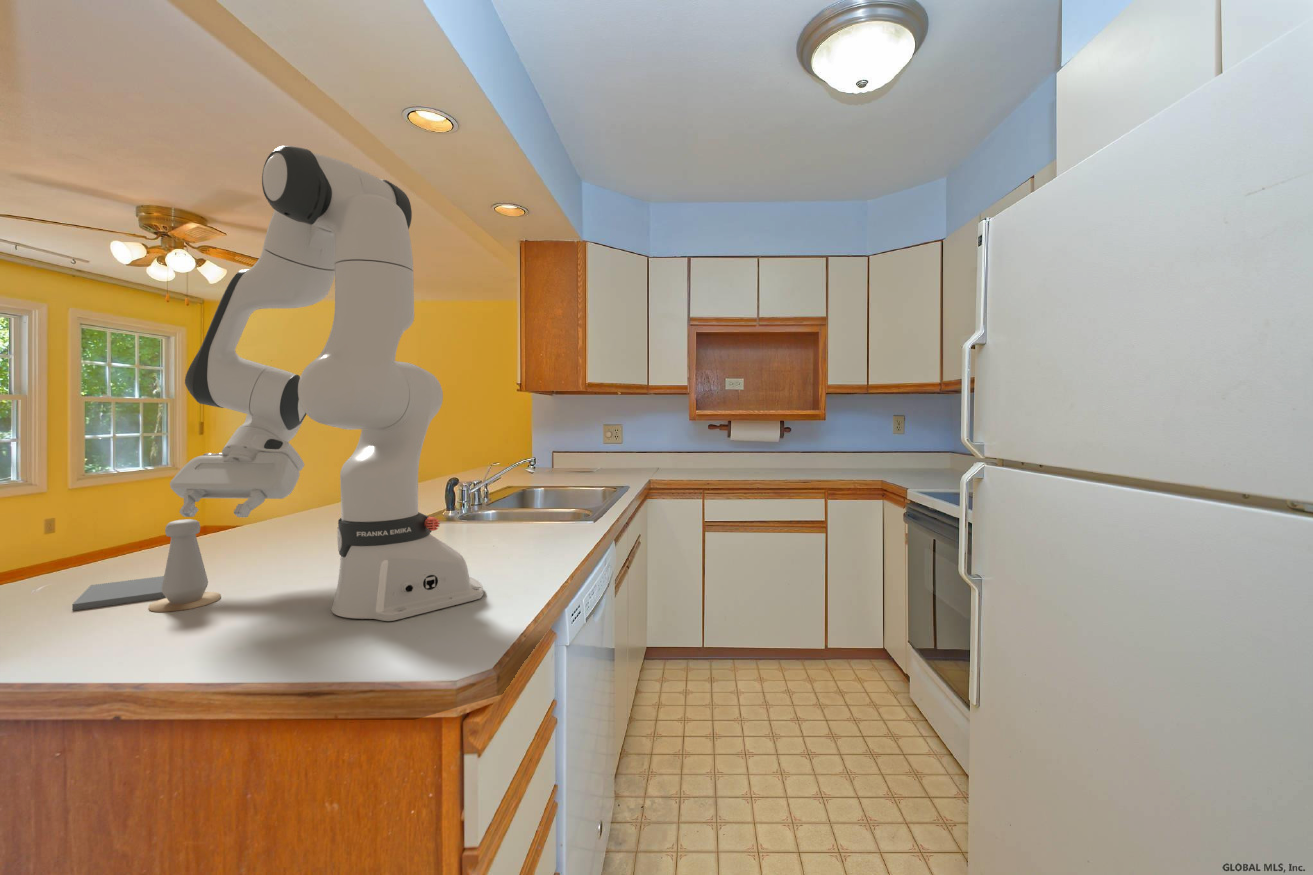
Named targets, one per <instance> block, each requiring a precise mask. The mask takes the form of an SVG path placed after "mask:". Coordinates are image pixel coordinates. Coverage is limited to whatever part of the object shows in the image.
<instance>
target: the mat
mask: <svg viewBox="0 0 1313 875" xmlns="http://www.w3.org/2000/svg"><path fill="white" fill-rule="evenodd" d="M163 579H164V575H160V576H155V577H147V578H146V577H145V578H138V579H137V578H136V579H130V580H129V579H128V580H122V581H121V580H120V581H111V582H107V583H105V582H104V583H98V584H97V583H96V584H90V586H88V588H86V590H85V591H84V592H83V593H81V595H80V596H79V597H78V598H77V599H76V600H75V601H74V602H73V603H72V607H71V608H72V611H80V610H87V609H88V610H89V609H95V608H100V607H107V606H109V607H110V606H116V605H122V604H129V603H137V602H138V603H139V602H144V601H151V600H157V599H159V600H160V599H164V598H166V597H165V596H164V594H163V593H162V590H161V588H162V584H163Z"/></svg>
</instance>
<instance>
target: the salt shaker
mask: <svg viewBox="0 0 1313 875" xmlns="http://www.w3.org/2000/svg"><path fill="white" fill-rule="evenodd" d="M200 531H201V524H200V521H198V520H196V519H192V518H191V519H190V518H187V519H185V518H184V519H178V520H176V519H175V520H173V521H172V520H171V521H170V522H168V523H167V524H166V525H165V536H166V537H169V538H170V543H169V550H168V555H167V559H166V565H165V568H164V569H165V570H164V575H163V576H164V579H163V584H162V588H161V590H162V593H163V594H164V596H165V597H166V598H167V599H168V601H169V602H170V604H186V603H190V602H195V601H198V600H199V599H201V598H202V597H203V594H204V592H206V590H207V588H208V585H209V580H208V579H209V578H208V575H207V572H206V569H205V568H206V567H205V565H204V562H203V558H202V554H201V549H200V546H199V542H198V539H197V535H198V534H199V533H200Z"/></svg>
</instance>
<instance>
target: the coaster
mask: <svg viewBox="0 0 1313 875" xmlns="http://www.w3.org/2000/svg"><path fill="white" fill-rule="evenodd" d="M221 598H222V595H221V593H219V592H216V591H205V592H204V594H203V597H202V598H201V599H199V600H198V601H195V602H190V603H186V604H170V602H169V601H168V599H167V598H160V599H159V600H155V601H154V602H151V603H150V604H149V605H148V610H149V611H150V612H155V613H156V612H157V613H168V612H169V613H172V612H180V611H185V610H191V609H192V610H193V609H197V608H201V607H205V606H209V605H210V604H213V603H215V602H218V601H219V600H220V599H221Z"/></svg>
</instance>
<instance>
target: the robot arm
mask: <svg viewBox="0 0 1313 875" xmlns="http://www.w3.org/2000/svg"><path fill="white" fill-rule="evenodd" d="M261 185H262V186H261V187H262V191H263V192H262V193H263V195H264V197H265V199H266V200H267V202H268V203H269V205H270V206H271V208H272V209H273V210H274V211H273V214H272V216H271V218H270V220H269V224H268V227H267V231H266V233H265V237H264V241H263V247H262V250H261V253H260V256H259V258H258V259H257V261H256V262H255V264H254V265H252V267H250V268H249V269H248V268H247V269H240V270H239V271H238V272H236V274H234V276H233V277H232V279H230V281H229V283H228V284H227V287H226V288H225V291H224V292H223V294H222V297H221V298H220V301H219V303H218V306H217V308H216V310H215V312H214V314H213V318H212V320H211V322H210V323H209V324H210V325H209V327H208V329H207V332H206V335H205V336H204V338H203V341H202V342H201V345H200V348H199V350H198V351H197V353H196V355H195V356H194V358H193V360H192V362H190V365H189V368H188V370H187V372H186V374H185V377H184V378H185V379H184V384H185V387H186V389H187V391H188V393H189V394H190V395H191V397H192V398H193V399H194V400H195V401H196V402H197V403H198V404H201V405H205V406H210V407H211V406H212V407H215V408H221V409H227V410H231V411H235V412H237V413H241V414H242V413H243V414H245V415H246V416H245V421H244V422H243V423H242V424H241V425H240V426H238V427H237V428H236V430H235V431H234V432H233V434H232V435H231V437H230V438H229V439H228V441H227V442H226V443H225V445H224V447H223V448H222V450H221V452H218V453H213V452H206V453H203V455H199V456H195V457H194V458H192V459H191V460H189V461H188V462H187V463H186V464H184V466H183V467H182V468H181V469H180V470H178V472H177V473H176V474H175V475H174V477H173V478H172V479H171V480H170V481H169V486H170V489H171V490H172V491H173V493H175V494H176V495H177V496H178V497H180V498H181V499H183V505H182V506H181V507H180V509H179V514H180V515H181V516H182V517H184V518H193V517H195V516H196V514H197V512H199V508H198V507H196V503H199V502H200V500H201V499H247V500H245V501H244V502H243V503H238V504H237V505H236V507H235V509H234V510H233V514H234V515H235V516H236V517H237V518H248V517H249V516H250V514H251V512H252V511H253V510H255V509H256V508H257V507H259V506H261V505H262V504H263V503H264V502H265V501H266V499H267V500H268V499H273V500H275V499H277V500H278V499H279V500H281V499H285V498H287V497H288V496H290V494H291V493H292V492H293V490H294V489H295V487H296V485H297V483H298V481H299V479H300V476H301V472H300V471H302V470H303V468H304V467H305V463H304V461H303V459H302V458H301V456H300V455H299V453H298V452H297V450H296V449H295V448H294V447H293V445H292V444H291V443H290V441H292V440H293V439H294V438H295V437H296V434H298V431H299V430H300V429H301V426H302V424H303V422H304V420H305V417H306V416H308V417H309V419H312V421H315V422H316V423H318V424H321V425H322V424H323V425H326V426H329V427H332V428H339V429H343V430H349V431H350V430H361V433H360V436H359V439H358V443H357V446H356V447H355V450H354V451H353V453H352V454H351V455H350V457H349V458H347V459H346V461H345V462H344V463H343V464H342V467H341V469H340V473H339V474H340V479H339V480H340V518H339V519H338V522H337V525H338V527H337V530H336V532H337V551H338V553H339V555H340V560H339V563H340V564H339V571H338V572H339V574H338V579H337V586H336V592H335V596H334V599H333V603H332V606H331V612H332V613H333V614H334V615H335V616H339V617H342V618H346V619H347V618H348V619H365V620H366V619H371V620H372V619H374V620H379V621H384V622H391V621H392V622H393V621H397V620H402V619H405V618H409V617H413V616H417V615H421V614H426V613H429V612H434V611H437V610H440V609H446V608H448V607H453V606H455V605H456V606H457V605H460V604H465V603H469V602H472V601H476V600H480V599H481V598H482V597H483V596H484V587H483V585H482V583H481V582H479V580H477V579H475V578H474V577H471V576H470V573H469V569H468V565H467V563H466V560H465V557H464V556H463V555H462V554H461V553H460V552H459V551H457V550H456V549H454V548H453V547H451V546H450V545H448V544H446V543H445V542H443V541H442V540H440V539H438V538H437V537H436V536H434V535H433V534H431V533H432V531H433V532H434V531H436V530H438V529H439V527H440V525H441V523H440V520H438V518H437V517H434V516H428V515H426V514H424V513H421V512H419V466H420V459H421V453H422V449H423V446H424V442H425V439H426V435H427V432H428V428H429V426H430V424H431V422H432V421H433V419H434V418H435V417H436V415H437V414H438V413H439V411H440V409H441V408H442V405H443V399H444V394H443V392H444V391H443V388H442V385H441V383H440V381H439V379H438V378H437V377H436V375H434V374H433V373H432V372H429V371H428V370H426V369H424V368H422V367H420V366H418V365H416V364H413V363H411V362H404V361H396V354H397V350H398V346H399V342H400V341H401V337H402V336H403V334H404V333H405V331H407V330H408V329H409V328H410V327H411V326H412V325H413V323H414V321H415V320H414V319H415V290H414V288H415V286H414V285H415V284H414V280H415V279H414V260H413V259H414V258H413V250H412V241H411V237H410V230H409V229H410V227H411V224H412V219H413V218H412V217H413V210H412V206H411V202H410V201H411V200H410V198H409V196H408V195H407V193H405V191H404V190H403V189H401V188H399V187H398V186H397V185H395V184H394V183H392V182H390V181H388V180H387V179H381V178H379V177H376V175H374V174H371V173H368V172H367V171H364V170H362V169H360V168H358V167H355V166H353V165H352V164H350V163H348V162H346V161H342V160H340V159H336V158H333V157H330V156H326V155H323V154H319V153H314V152H312V151H311V150H310V149H307V148H302V147H298V146H292V145H281V146H278V147H277V148H275V149H274V150H273V151H272V152H271V153H269V155H268V156H267V158H266V159H265V162H264V165H263V169H262V176H261ZM333 283H334V289H335V290H334V314H333V322H332V326H331V330H330V333H329V336H328V338H327V340H326V343H325V345H324V347H323V349H322V350H321V352H320V353H319V355H318V356H317V357H316V358H315V359H314V360H312V361H311V362H310V363H309V364H307V366H306V367H305V368H304V369H303V370H302V372H301V375H299V374H295V373H294V372H291V371H287V370H286V369H281V368H278V367H274V366H271V365H268V364H263V363H259V362H257V361H253V360H249V359H247V358H246V359H245V358H243V357H241V356H239V354H238V353H237V351H236V349H237V346H238V344H239V342H240V339H241V337H242V335H243V333H244V331H245V329H246V326H247V323H248V321H249V319H250V317H251V315H252V314H253V313H254V312H255V311H257V310H262V309H263V310H265V309H266V310H267V309H268V310H269V309H301V308H305V307H310V306H313V305H316V304H318V303H319V302H321V301H322V300H323V299H325V298H326V297H327V295H328V294H330V293H329V292H330V290H331V288H332V285H333Z"/></svg>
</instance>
